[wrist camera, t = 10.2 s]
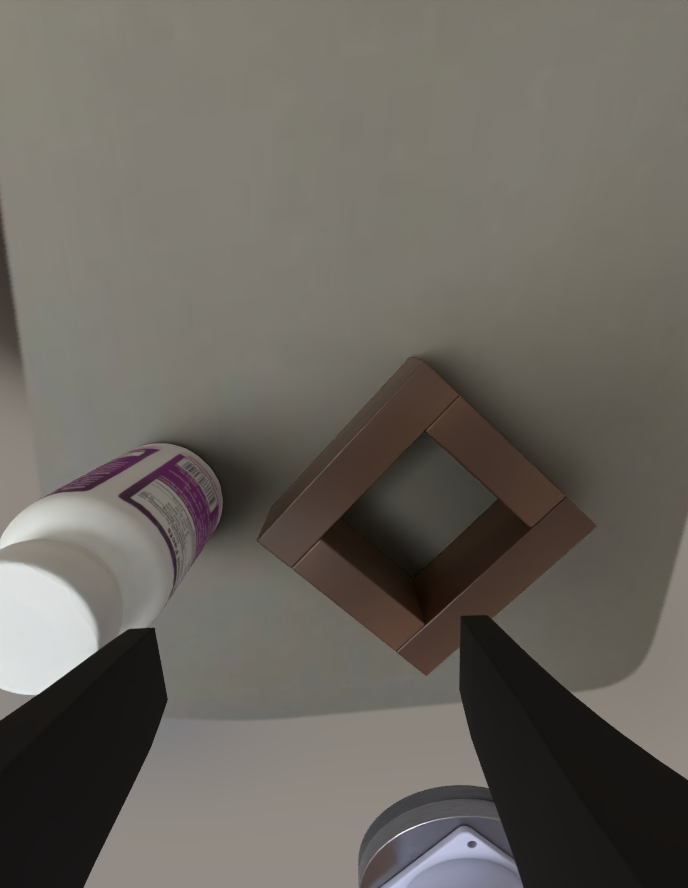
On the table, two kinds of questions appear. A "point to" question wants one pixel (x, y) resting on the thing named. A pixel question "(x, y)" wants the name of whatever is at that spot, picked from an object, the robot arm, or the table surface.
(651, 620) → the table surface
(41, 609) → the pill bottle
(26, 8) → the table surface
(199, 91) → the table surface
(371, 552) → the frame
